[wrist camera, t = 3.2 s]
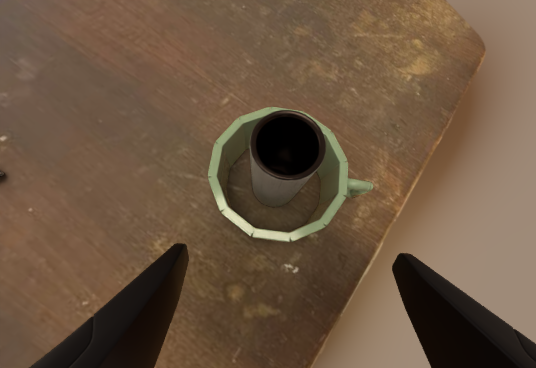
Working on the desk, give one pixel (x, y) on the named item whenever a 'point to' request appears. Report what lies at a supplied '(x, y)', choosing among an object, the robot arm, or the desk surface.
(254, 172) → the grey hollow cylinder
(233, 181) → the desk surface
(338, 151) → the mug
